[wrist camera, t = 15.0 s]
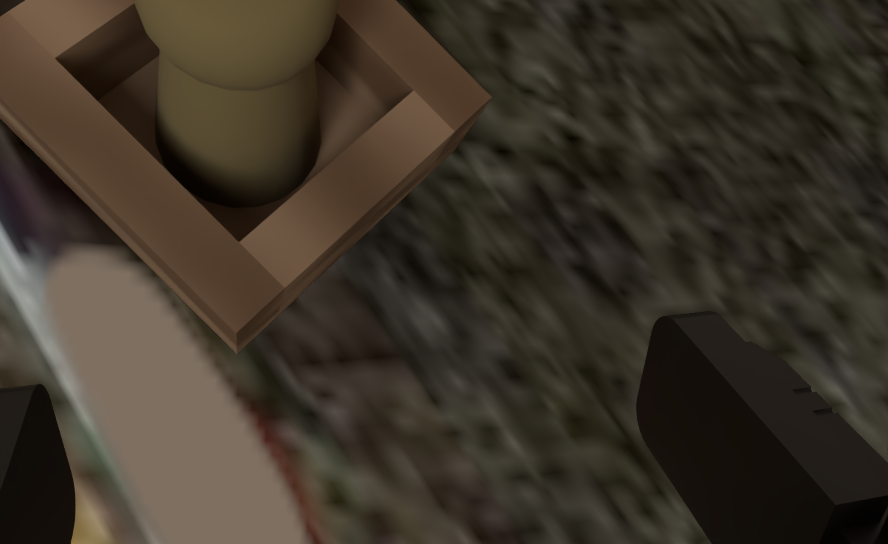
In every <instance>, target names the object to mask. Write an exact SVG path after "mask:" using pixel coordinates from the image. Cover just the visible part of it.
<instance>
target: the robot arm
mask: <svg viewBox="0 0 888 544" xmlns="http://www.w3.org/2000/svg"><path fill="white" fill-rule="evenodd" d="M636 413H637V421H638V425H639V429H640V432H641V435H642V437H643V439H644V442H645V443H646V445H647V446H648V448H649V450H650V451H651V453H652V454H653V456H654V457H655V459H656V460H657V462H658V463H659V465H660V466H661V468H662V469H663V471H664V472H665V474H666V475H667V477H668V478H669V480H670V481H671V483H672V484H673V486H674V487H675V489H676V490H677V492H678V493H679V495H680V496H681V498H682V499H683V501H684V502H685V504H686V505H687V507H688V508H689V510H690V511H691V513H692V515H693V516H694V518H695V519H696V521H697V522H698V524H699V525H700V527H701V528H702V530H703V531H704V533H705V534H706V536H707V537H708V539H709V540H710V542H711V543H712V544H888V463H887V462H886V461H885V460H884V459H883V458H882V457H881V456H880V455H879V454H878V453H877V452H876V451H875V450H874V449H873V448H872V447H871V446H870V445H869V444H868V443H867V442H866V441H865V440H864V439H863V438H862V437H861V436H860V435H859V434H858V433H857V432H856V431H855V430H854V429H853V428H852V427H851V426H850V425H849V424H848V423H847V422H846V421H845V420H844V419H843V418H842V417H841V416H840V415H839V414H838V413H835V414H833V412H832V407H831V406H830V405H829V404H828V403H827V402H826V401H825V400H824V399H823V398H822V397H821V396H820V395H819V394H818V393H817V392H812V391H811V386H810V385H809V384H808V383H807V382H806V381H804V380H803V379H802V378H801V377H800V376H799V375H798V374H797V373H796V372H795V371H794V370H793V369H792V368H791V367H790V366H789V365H788V364H787V363H786V362H785V361H783V360H782V359H780V358H778V357H776V356H775V355H773V354H771V353H770V352H768V351H766V350H764V349H763V348H761V347H759V346H758V345H756V344H754V343H752V342H745V341H744V340H743V339H742V338H741V337H740V336H739V335H738V334H737V333H736V332H735V331H734V330H733V329H732V328H731V327H730V326H729V325H728V324H727V323H726V322H725V320H724V319H723V318H722V317H720V316H719V315H718V314H717V313H715V312H711V311H707V312H698V313H689V314H680V315H671V316H663V317H660V318H659V319H658V320H657V321H656V322H655V324H654V326H653V329H652V333H651V337H650V342H649V347H648V351H647V356H646V360H645V365H644V369H643V374H642V378H641V383H640V388H639V392H638V397H637V404H636ZM74 523H75V489H74V482H73V477H72V473H71V469H70V466H69V462H68V459H67V455H66V452H65V448H64V445H63V442H62V438H61V435H60V431H59V428H58V424H57V421H56V417H55V414H54V410H53V407H52V403H51V400H50V397H49V394H48V392H47V390H46V388H45V387H44V386H43V385H41V384H36V385H27V386H18V387H9V388H0V544H71V539H72V535H73V529H74Z"/></svg>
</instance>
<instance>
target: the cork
mask: <svg viewBox="0 0 888 544" xmlns="http://www.w3.org/2000/svg"><path fill="white" fill-rule="evenodd" d="M339 2H340V1H339V0H134V3H135V6H136V9H137V11H138V14H139V16H140V19H141V21H142V24H143V26H144V28H145V31H146V33H147V35H148V36H149V37H150V38H151V40H152V41H153V42H154V43H155V44H156V45H157V47H158V48H159V49H160V51H159V66H158V82H157V97H156V112H155V135H156V145H157V148H158V150H159V153H160V155H161V158H162V160H163V163H164V165H165V167H166V168H167V170H168V171H169V172H170V173H171V174H172V175H173V177H174V178H175V179H176V180H177V181H178V182H179V183H180V184H181V185H182V186H183V187H184V188H185V189H187V190H188V191H190V192H192V193H193V194H195V195H196V196H198V197H200V198H201V199H203V200H205V201H208V202H211V203H215V204H219V205H223V206H226V207H230V208H240V207H259V206H262V205H265V204H268V203H271V202H274V201H277V200H280V199H283V198H284V197H285V196H287V195H288V194H289V193H291V192H292V191H293V190H295V189H296V188H297V187H299V186H300V185H302V183H303V182H304V181H305V179H306V178H307V176H308V175H309V173H310V172H311V170H312V169H313V167H314V166H315V164H316V161H317V157H318V153H319V149H320V146H321V132H320V120H319V108H318V96H317V85H316V73H315V61H314V60H315V58H316V57H317V56H318V54H319V53H320V51H321V50H322V49H323V47H324V46H325V45H326V43H327V42H328V41H329V39H330V36H331V32H332V29H333V25H334V21H335V18H336V14H337V10H338V6H339Z"/></svg>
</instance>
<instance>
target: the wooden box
mask: <svg viewBox="0 0 888 544" xmlns="http://www.w3.org/2000/svg"><path fill="white" fill-rule="evenodd" d="M339 1H340V2H339V6H338V10H337V14H336V18H335V21H334V25H333V29H332V32H331V36H330V39H329V41H328V42H327V43H326V45H325V46H324V47H323V49H322V50H321V51H320V53H319V54H318V56H317V57H316V58H315V60H314V61H315V73H316V85H317V96H318V108H319V120H320V132H321V146H320V149H319V153H318V157H317V161H316V164H315V166H314V167H313V169H312V170H311V172H310V173H309V175H308V176H307V178H306V179H305V181H304V182H303V183H302V185H300V186H299V187H297V188H296V189H295V190H293V191H292V192H291V193H289V194H288V195H287V196H285V197H284V198H283V199H280V200H277V201H274V202H271V203H268V204H265V205H262V206H259V207H240V208H230V207H226V206H223V205H219V204H215V203H211V202H208V201H205V200H203V199H201V198H200V197H198V196H196V195H195V194H193V193H192V192H190V191H188V190H187V189H185V188H184V187H183V186H182V185H181V184H180V183H179V182H178V181H177V180H176V179H175V178H174V177H173V175H172V174H171V173H170V172H169V171H168V170H167V168H166V167H165V165H164V163H163V160H162V158H161V155H160V153H159V150H158V148H157V145H156V135H155V112H156V97H157V82H158V66H159V51H160V49H159V48H158V47H157V45H156V44H155V43H154V42H153V41H152V40H151V38H150V37H149V36H148V35H147V33H146V31H145V28H144V26H143V24H142V21H141V19H140V16H139V14H138V11H137V9H136V6H135V3H134V0H25V1H24V2H22V3H21V4H19V5H18V6H16V7H15V8H13V9H11V10H10V11H8V12H7V13H5V14H4V15H2V16H1V17H0V119H1V120H2V121H3V122H4V123H5V124H6V125H7V126H8V127H9V128H10V129H11V130H12V131H13V132H14V133H15V134H16V135H17V136H18V137H19V138H20V139H21V140H22V141H23V142H24V143H25V144H27V145H28V146H29V147H30V148H31V149H32V150H33V151H34V152H35V153H36V154H37V155H38V156H39V157H40V158H41V159H42V160H43V161H44V162H45V163H46V164H47V165H48V166H49V167H50V168H51V169H52V170H53V171H54V172H55V173H56V174H57V175H58V176H59V177H60V178H61V179H62V180H63V181H64V182H65V183H66V184H67V185H68V186H69V187H70V188H71V189H72V190H73V191H74V192H75V193H76V194H77V195H78V196H79V197H80V198H81V199H82V200H83V201H84V202H85V203H86V204H87V205H88V206H89V207H90V208H91V209H92V210H93V211H94V212H95V213H96V214H97V215H98V216H99V217H100V218H101V219H102V220H103V221H104V222H105V223H106V224H107V225H108V226H109V227H110V228H111V229H112V230H113V231H114V232H115V233H116V234H117V235H118V236H119V237H120V238H121V239H122V240H123V241H124V242H125V243H126V244H127V245H128V246H129V247H130V248H131V249H132V250H133V251H134V252H135V253H136V254H137V255H138V256H139V257H140V258H141V259H142V260H143V261H144V262H145V263H146V264H147V265H148V266H149V267H150V268H151V269H152V270H153V271H154V272H155V273H156V274H157V275H158V276H159V277H160V278H161V279H162V280H163V281H164V282H165V283H166V284H167V285H168V286H169V287H170V288H171V289H172V290H173V291H174V292H175V293H176V294H177V295H178V296H179V297H180V298H181V299H182V300H183V301H184V302H185V303H186V304H187V305H188V306H189V307H190V308H191V309H192V310H193V311H194V312H195V313H196V314H197V315H198V316H199V317H200V318H201V319H202V320H203V321H204V322H205V323H207V324H208V325H209V326H210V327H211V328H212V329H213V330H214V331H215V332H216V333H217V334H218V335H219V336H220V337H221V338H222V339H223V340H224V341H225V342H226V343H227V344H228V345H229V346H230V347H231V348H232V349H233V350H234V351H235V352H236V353H238V352H239V351H241V350H242V349H243V348H244V347H245V346H246V345H247V344H248V343H249V342H250V341H251V340H252V339H253V338H254V337H256V336H257V335H258V334H259V333H260V332H261V331H262V330H263V329H264V328H265V327H266V326H267V325H268V324H269V323H270V322H272V321H273V320H274V319H275V318H276V317H277V316H278V315H279V314H280V313H281V312H282V311H283V310H284V309H285V308H287V307H288V306H289V305H290V304H291V303H292V302H293V301H294V300H295V299H296V298H297V297H298V296H299V295H300V294H302V293H303V292H304V291H305V290H306V289H307V288H308V287H309V286H310V285H311V284H312V283H313V282H314V281H315V280H316V279H318V278H319V277H320V276H321V275H322V274H323V273H324V272H325V271H326V270H327V269H328V268H329V267H330V266H331V265H333V264H334V263H335V262H336V261H337V260H338V259H339V258H340V257H341V256H342V255H343V254H344V253H345V252H346V251H348V250H349V249H350V248H351V247H352V246H353V245H354V244H355V243H356V242H357V241H358V240H359V239H360V238H361V237H363V236H364V235H365V234H366V233H367V232H368V231H369V230H370V229H371V228H372V227H373V226H374V225H375V224H376V223H377V222H379V221H380V220H381V219H382V218H383V217H384V216H385V215H386V214H387V213H388V212H389V211H390V210H391V209H392V208H394V207H395V206H396V205H397V204H398V203H399V202H400V201H401V200H402V199H403V198H404V197H405V196H406V195H407V194H409V193H410V192H411V191H412V190H413V189H414V188H415V187H416V186H417V185H418V184H419V183H420V182H421V181H422V180H423V179H425V178H426V177H427V176H428V175H429V174H430V173H431V172H432V171H433V170H434V169H435V168H436V167H437V166H438V165H440V164H441V163H442V162H443V161H444V160H445V159H446V158H447V157H448V156H449V155H450V154H451V153H452V152H453V151H455V149H456V148H457V146H458V145H459V143H460V142H461V141H462V139H463V138H464V136H465V135H466V133H467V132H468V131H469V129H470V128H471V126H472V125H473V123H474V122H475V121H476V119H477V118H478V116H479V115H480V113H481V112H482V111H483V109H484V108H485V106H486V105H487V104H488V102H489V101H490V99H491V98H492V97H491V96H490V95H489V94H488V93H487V92H486V91H485V90H484V89H483V88H482V87H481V86H480V85H479V84H478V83H477V82H476V81H475V80H474V79H473V78H472V77H471V76H470V75H469V74H468V73H467V72H466V71H465V70H464V69H463V68H462V67H461V66H460V65H459V64H458V63H457V62H456V61H455V60H454V59H453V58H452V57H451V56H450V54H449V53H448V52H447V51H446V50H445V49H444V48H443V47H442V46H441V45H440V44H439V43H438V42H437V41H436V40H435V39H434V38H433V37H432V36H431V35H430V34H429V33H428V32H427V31H426V30H425V29H424V28H423V27H422V26H421V25H420V24H419V23H418V22H417V21H416V20H415V19H414V18H413V17H412V16H411V15H410V14H409V13H408V12H407V11H406V10H405V9H404V8H403V7H402V6H401V5H400V4H399V3H398V2H397V1H396V0H339Z"/></svg>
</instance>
